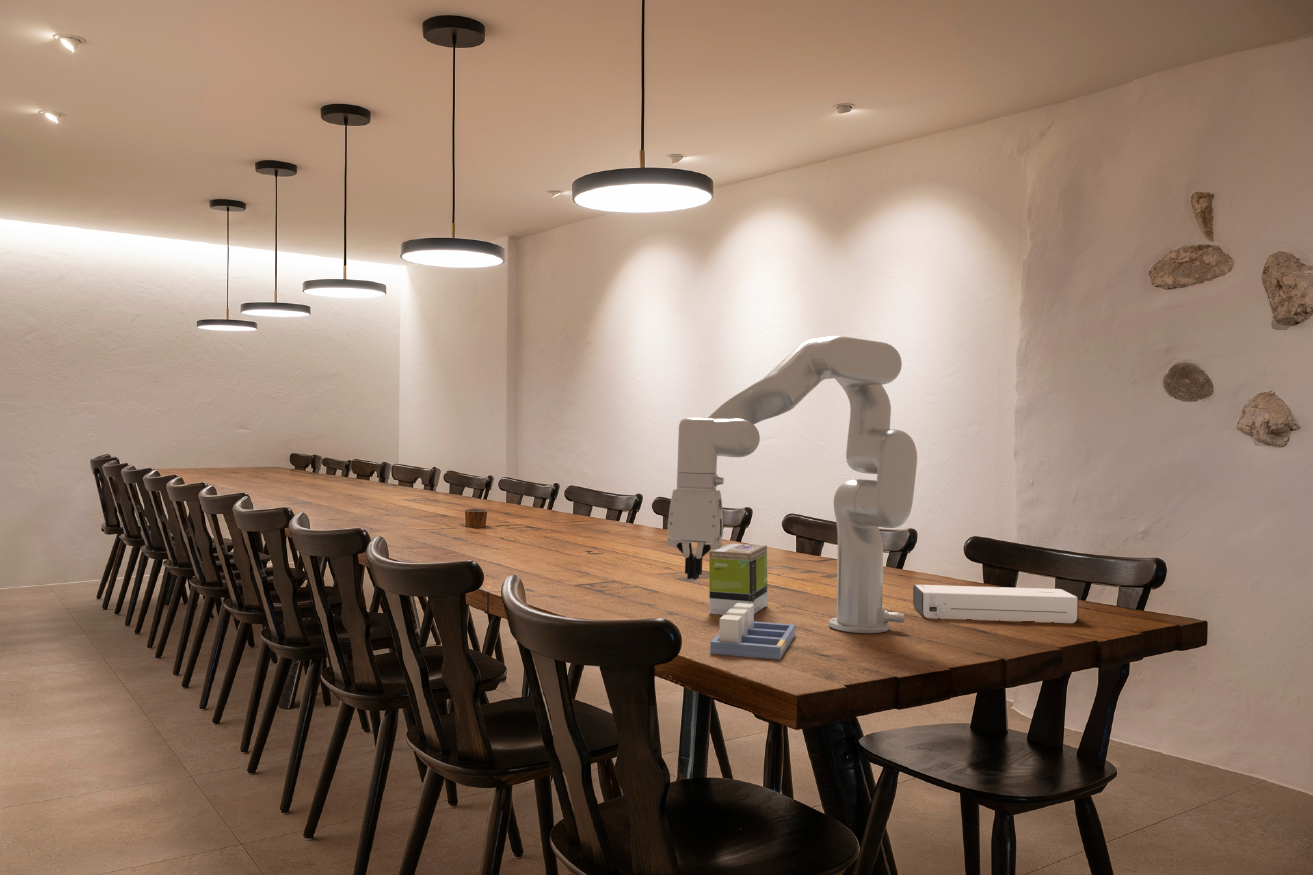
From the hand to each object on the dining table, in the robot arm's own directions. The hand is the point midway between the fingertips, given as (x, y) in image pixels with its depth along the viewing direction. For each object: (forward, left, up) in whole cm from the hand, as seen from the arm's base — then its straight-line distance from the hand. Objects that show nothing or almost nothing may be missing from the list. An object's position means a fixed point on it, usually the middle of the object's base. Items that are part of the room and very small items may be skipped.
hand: (693, 578), depth 173 cm
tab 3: (-7, -13, -12) cm, 19 cm away
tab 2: (-7, 0, -12) cm, 14 cm away
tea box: (-1, -39, -14) cm, 42 cm away
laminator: (-58, -53, -14) cm, 80 cm away
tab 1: (-7, -7, -12) cm, 16 cm away
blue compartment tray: (-11, -7, -13) cm, 19 cm away
